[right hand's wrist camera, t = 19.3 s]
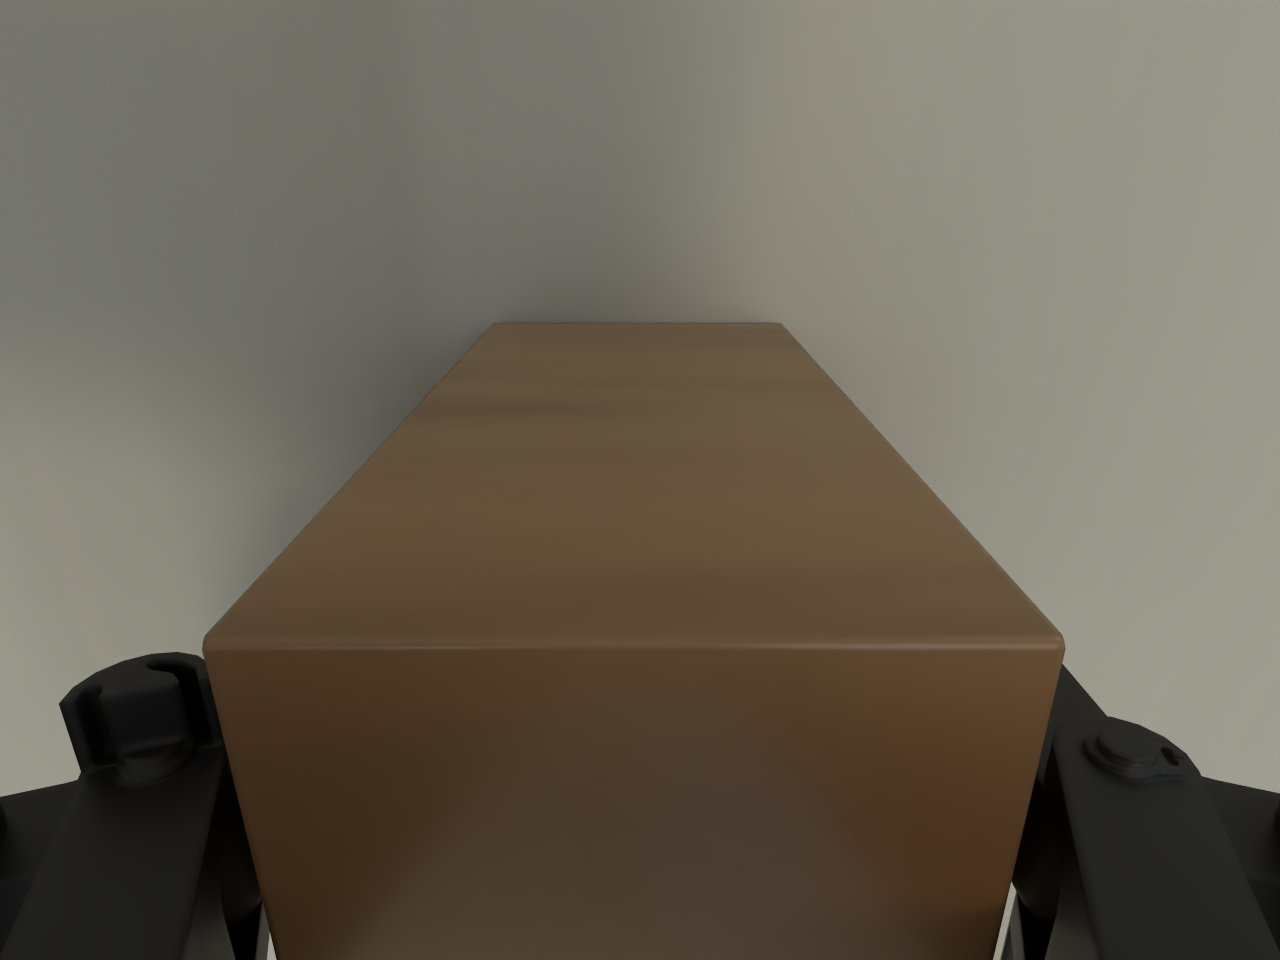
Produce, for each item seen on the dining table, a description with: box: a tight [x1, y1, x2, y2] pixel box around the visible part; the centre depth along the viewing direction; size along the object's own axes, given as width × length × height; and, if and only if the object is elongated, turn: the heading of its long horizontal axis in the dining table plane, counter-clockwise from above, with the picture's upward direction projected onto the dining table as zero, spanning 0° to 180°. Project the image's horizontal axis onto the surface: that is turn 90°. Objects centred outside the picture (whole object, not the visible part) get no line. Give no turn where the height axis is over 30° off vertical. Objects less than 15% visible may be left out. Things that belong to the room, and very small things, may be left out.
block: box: [202, 323, 1065, 960], centre depth 12 cm, size 7×6×11 cm
